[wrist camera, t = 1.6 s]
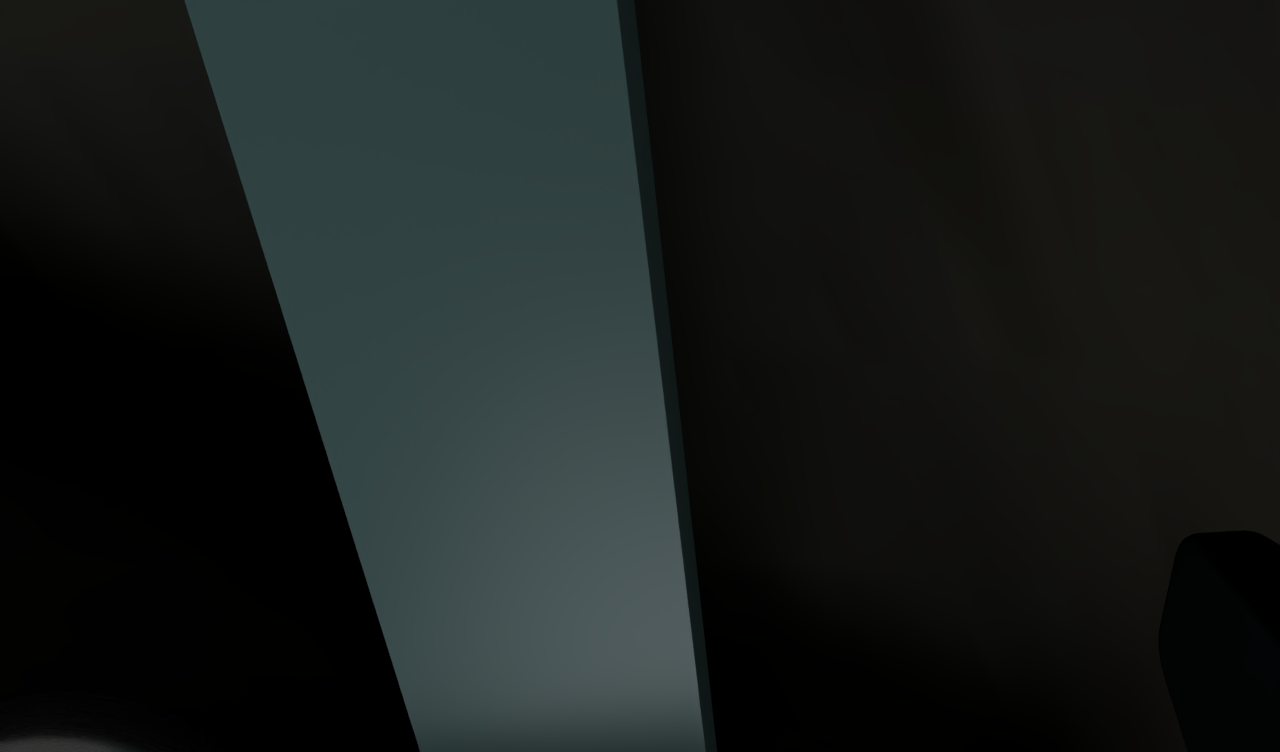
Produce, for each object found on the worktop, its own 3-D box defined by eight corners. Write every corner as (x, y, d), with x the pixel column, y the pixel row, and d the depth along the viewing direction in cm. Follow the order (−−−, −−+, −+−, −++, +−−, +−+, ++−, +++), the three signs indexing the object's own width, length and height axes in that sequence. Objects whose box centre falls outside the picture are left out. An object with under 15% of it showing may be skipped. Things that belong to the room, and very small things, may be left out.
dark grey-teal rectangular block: (614, -190, 11) (605, -98, 8) (732, 887, 21) (751, 1137, 17) (305, -153, 12) (169, -49, 8) (559, 898, 21) (545, 1149, 17)
